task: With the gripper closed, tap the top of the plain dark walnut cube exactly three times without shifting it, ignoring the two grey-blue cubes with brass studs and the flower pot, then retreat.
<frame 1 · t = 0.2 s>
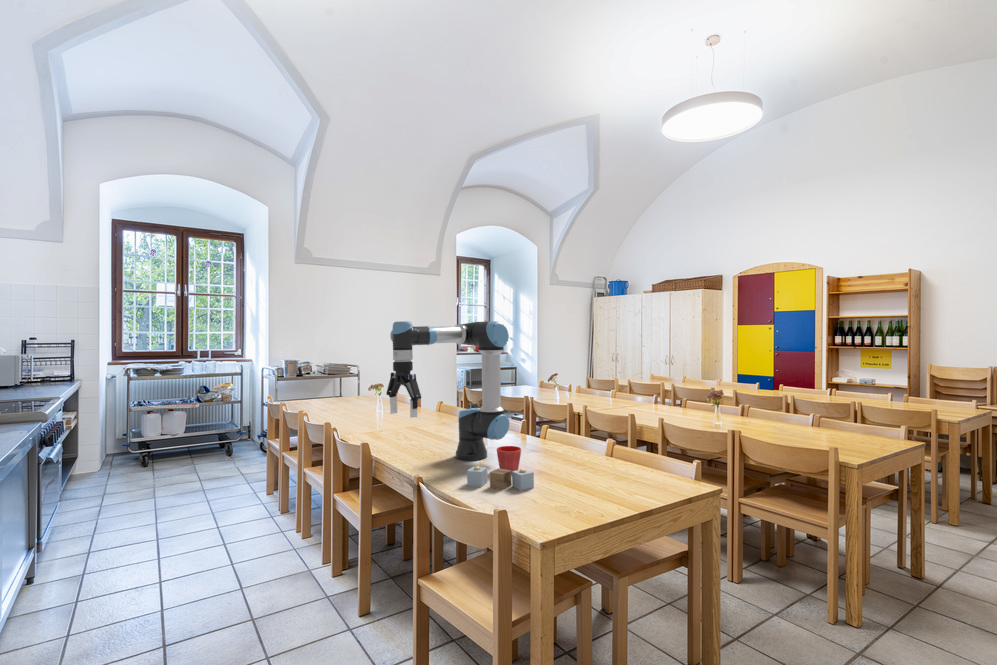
hand: (403, 415, 196), 28 cm above the table, fingers open, 13 cm apart
flower pot: (509, 471, 216), on the table
stud block a: (523, 487, 193), on the table
walnut block: (500, 486, 194), on the table
stud block b: (477, 484, 198), on the table
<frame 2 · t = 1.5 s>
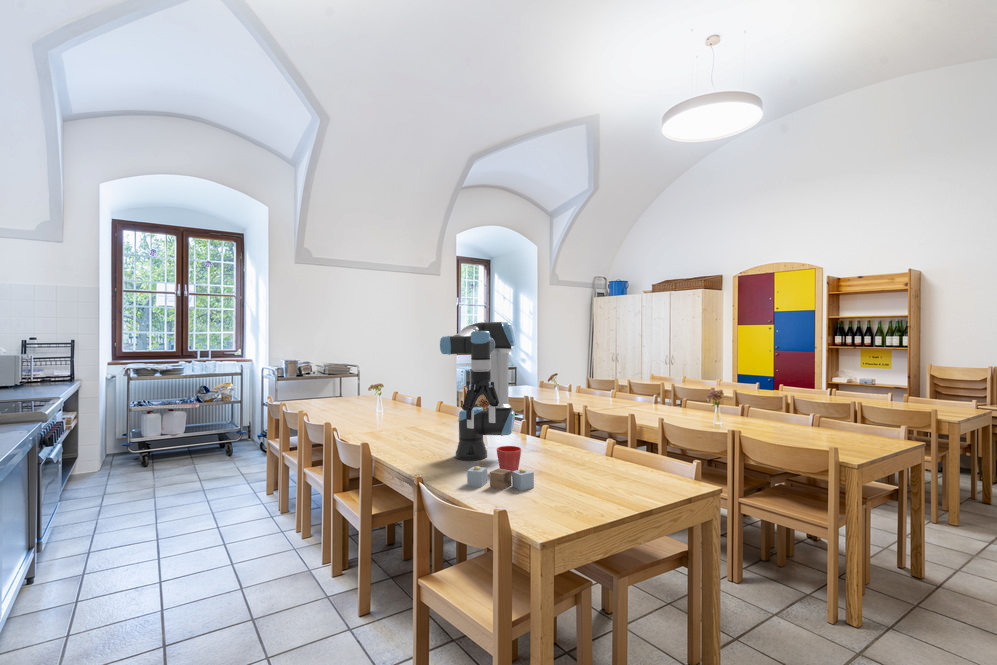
hand: (481, 425, 194), 24 cm above the table, fingers open, 13 cm apart
nothing on the table moved.
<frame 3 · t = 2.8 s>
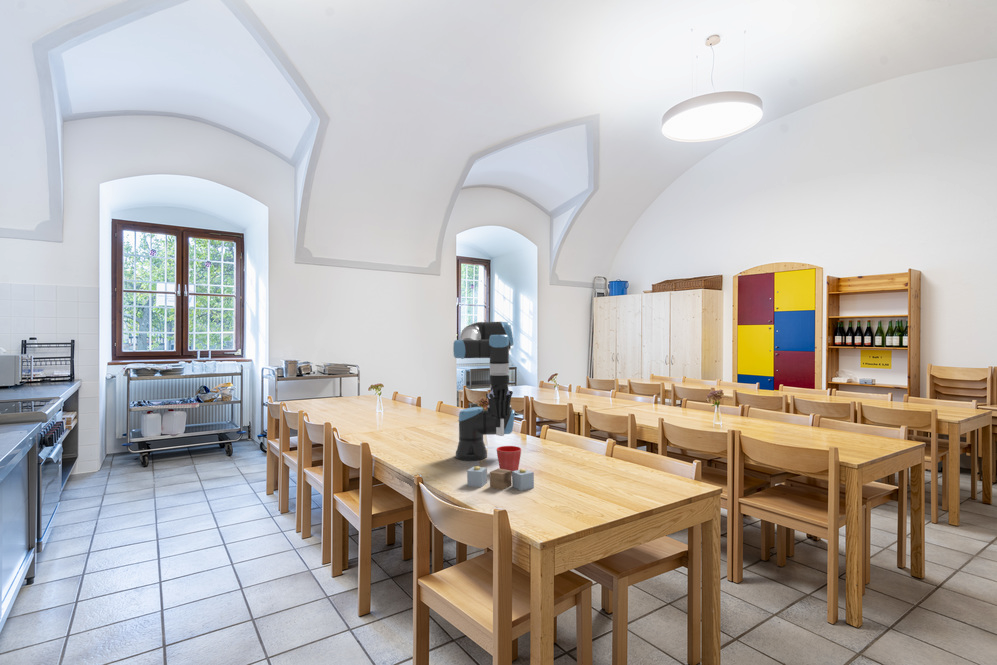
hand: (500, 435, 194), 20 cm above the table, fingers closed
nothing on the table moved.
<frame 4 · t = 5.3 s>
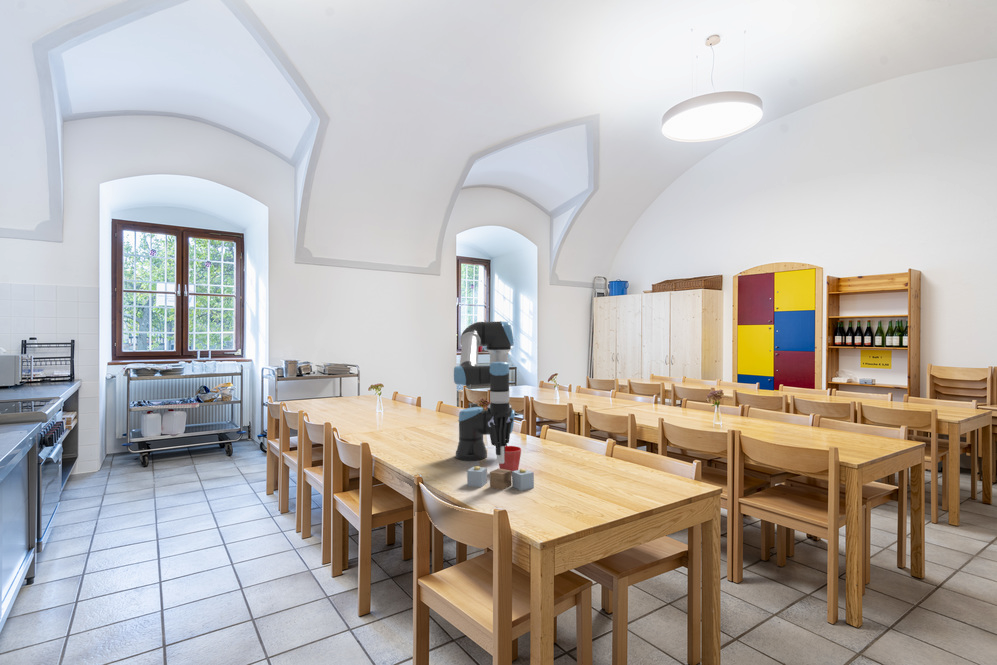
hand: (500, 462, 194), 9 cm above the table, fingers closed
nothing on the table moved.
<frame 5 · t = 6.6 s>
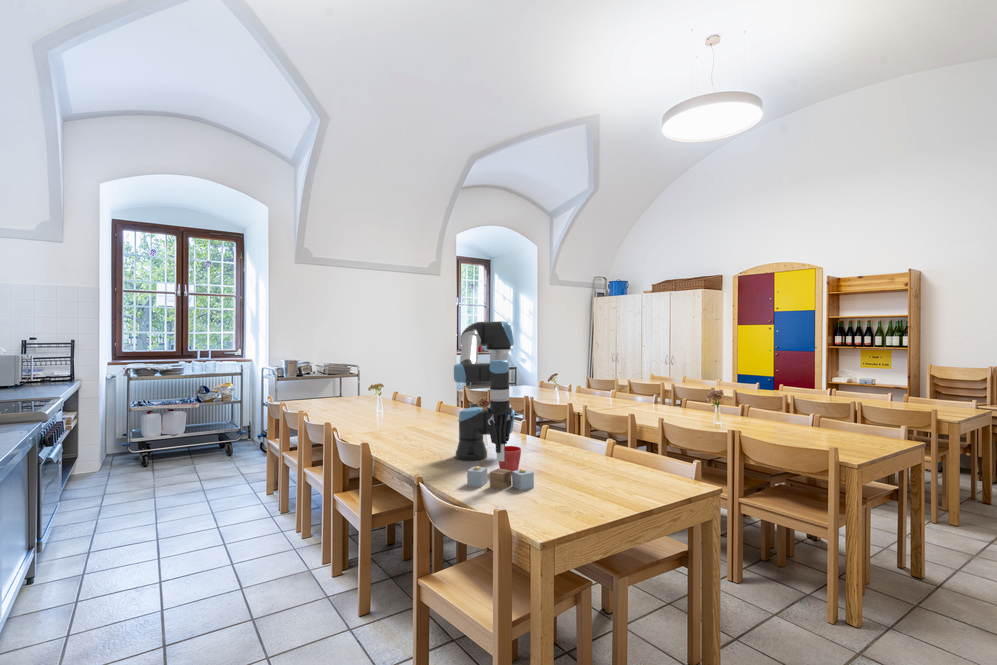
hand: (500, 460, 194), 10 cm above the table, fingers closed
nothing on the table moved.
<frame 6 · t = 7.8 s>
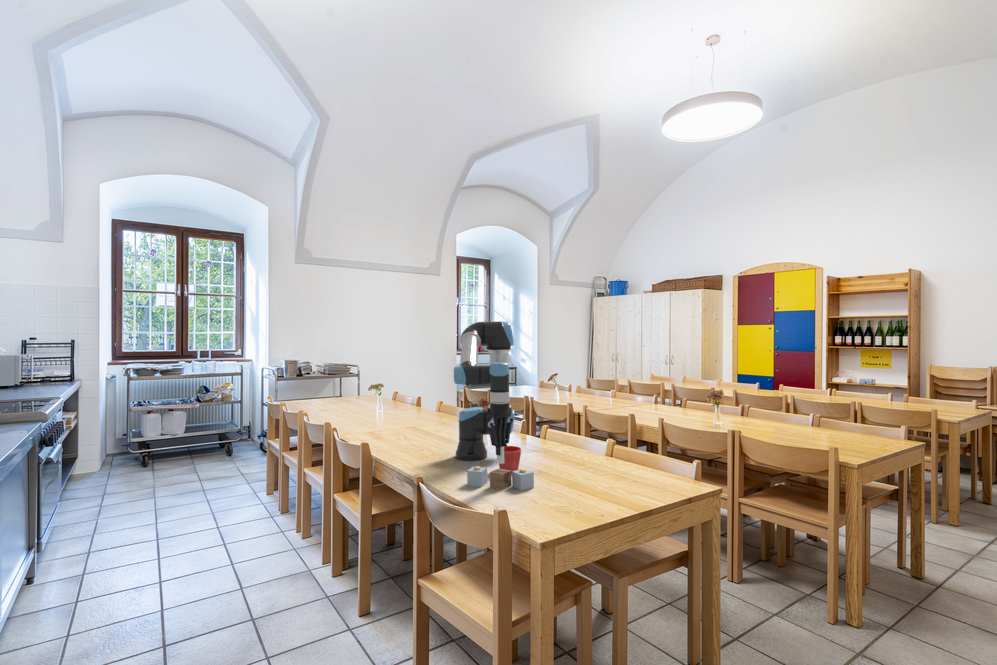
hand: (500, 462, 195), 9 cm above the table, fingers closed
nothing on the table moved.
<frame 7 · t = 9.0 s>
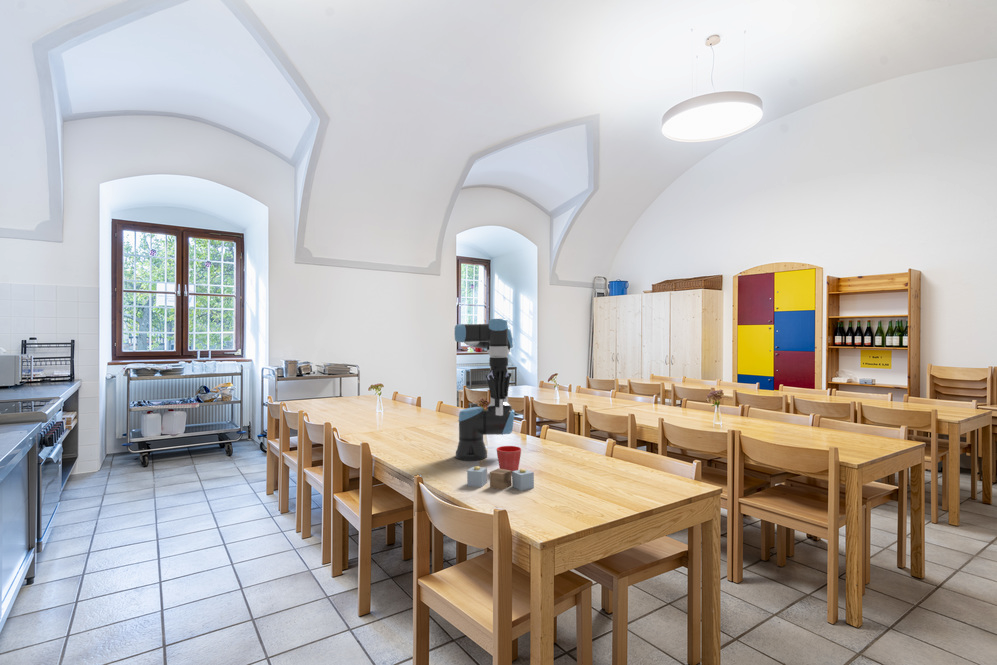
hand: (499, 415, 203), 26 cm above the table, fingers closed
nothing on the table moved.
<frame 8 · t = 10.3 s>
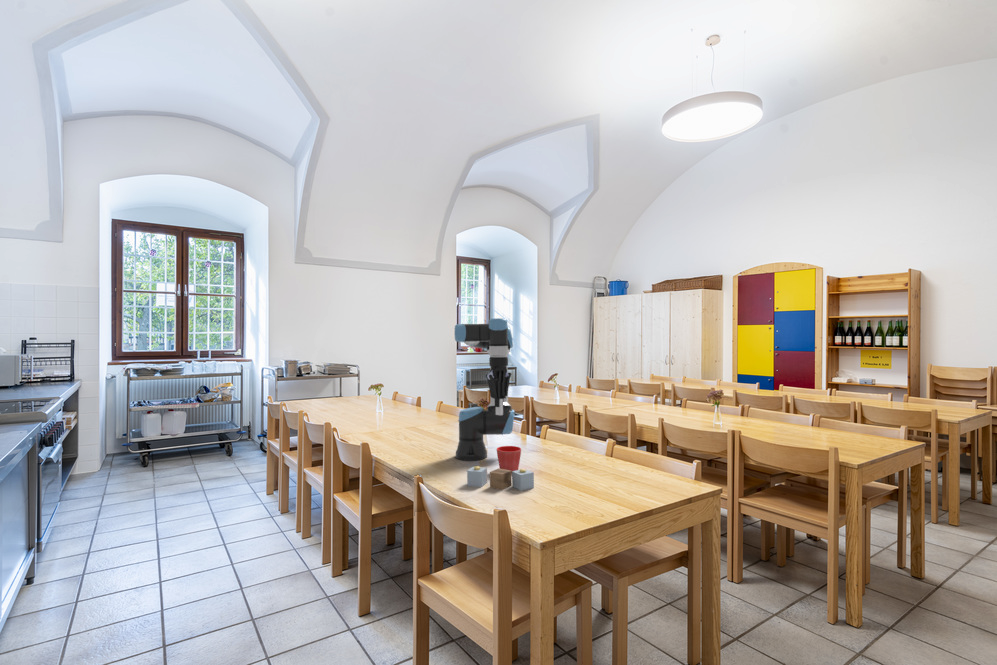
hand: (499, 414, 203), 26 cm above the table, fingers closed
nothing on the table moved.
at the end: walnut block moved 0.1 cm from its start; walnut block tilted 0°; walnut block touching table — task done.
